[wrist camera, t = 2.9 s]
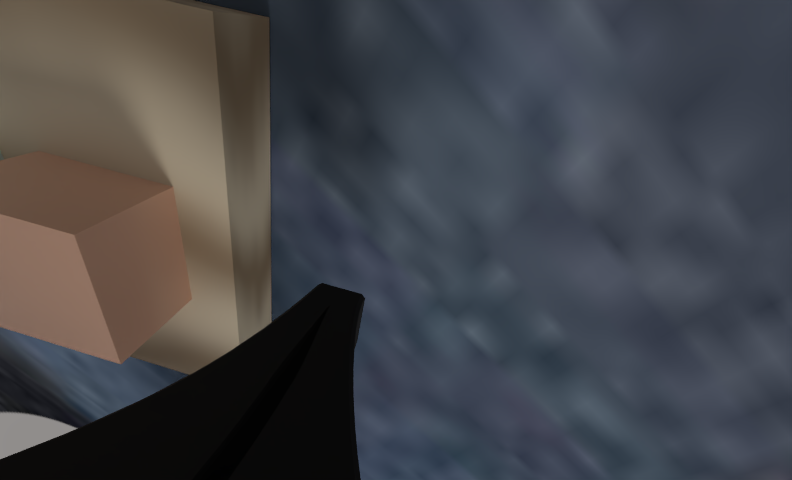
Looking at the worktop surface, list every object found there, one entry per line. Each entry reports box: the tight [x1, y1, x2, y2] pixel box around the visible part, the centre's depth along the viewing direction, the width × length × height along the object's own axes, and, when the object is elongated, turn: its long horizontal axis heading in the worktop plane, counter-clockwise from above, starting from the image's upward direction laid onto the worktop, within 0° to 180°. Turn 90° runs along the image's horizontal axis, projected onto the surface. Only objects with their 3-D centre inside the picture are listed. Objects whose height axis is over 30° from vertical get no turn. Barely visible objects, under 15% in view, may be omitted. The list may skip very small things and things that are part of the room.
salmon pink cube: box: [0, 151, 192, 364], centre depth 10 cm, size 4×4×3 cm
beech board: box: [0, 0, 271, 375], centre depth 13 cm, size 14×14×2 cm
